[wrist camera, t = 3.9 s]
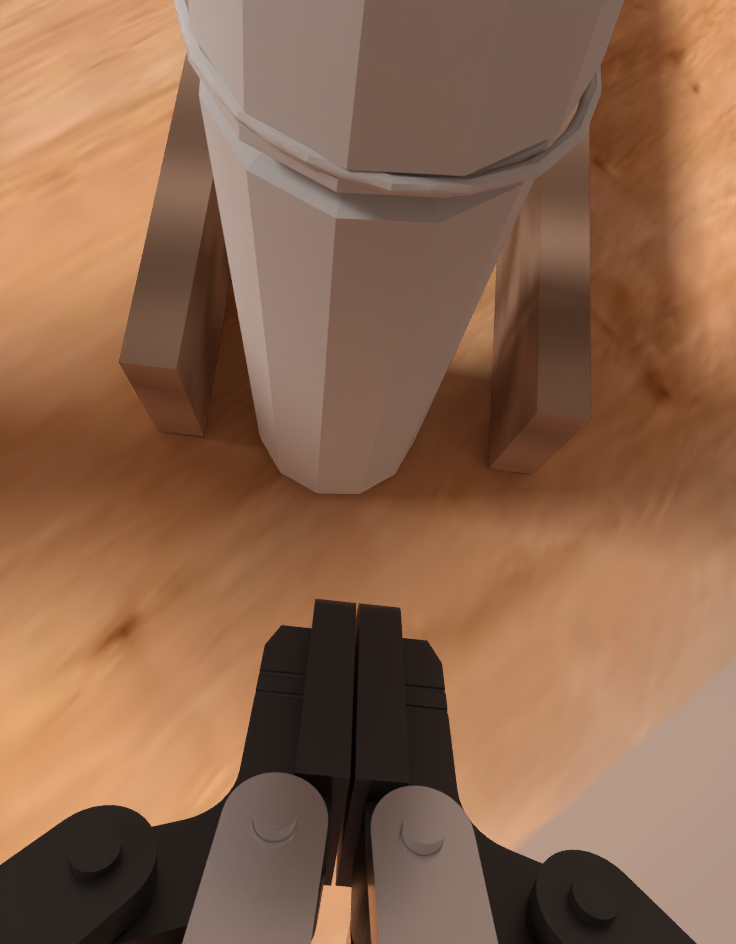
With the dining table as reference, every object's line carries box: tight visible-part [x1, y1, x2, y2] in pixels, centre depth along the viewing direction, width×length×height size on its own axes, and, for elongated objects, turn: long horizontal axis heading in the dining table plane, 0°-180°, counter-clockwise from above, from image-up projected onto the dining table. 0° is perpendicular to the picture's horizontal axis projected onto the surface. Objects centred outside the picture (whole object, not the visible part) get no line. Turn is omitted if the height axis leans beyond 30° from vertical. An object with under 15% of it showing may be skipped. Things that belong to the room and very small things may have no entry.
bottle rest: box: [119, 53, 591, 474], centre depth 33 cm, size 36×17×7 cm, turn 175°
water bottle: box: [174, 0, 625, 494], centre depth 20 cm, size 9×8×25 cm
